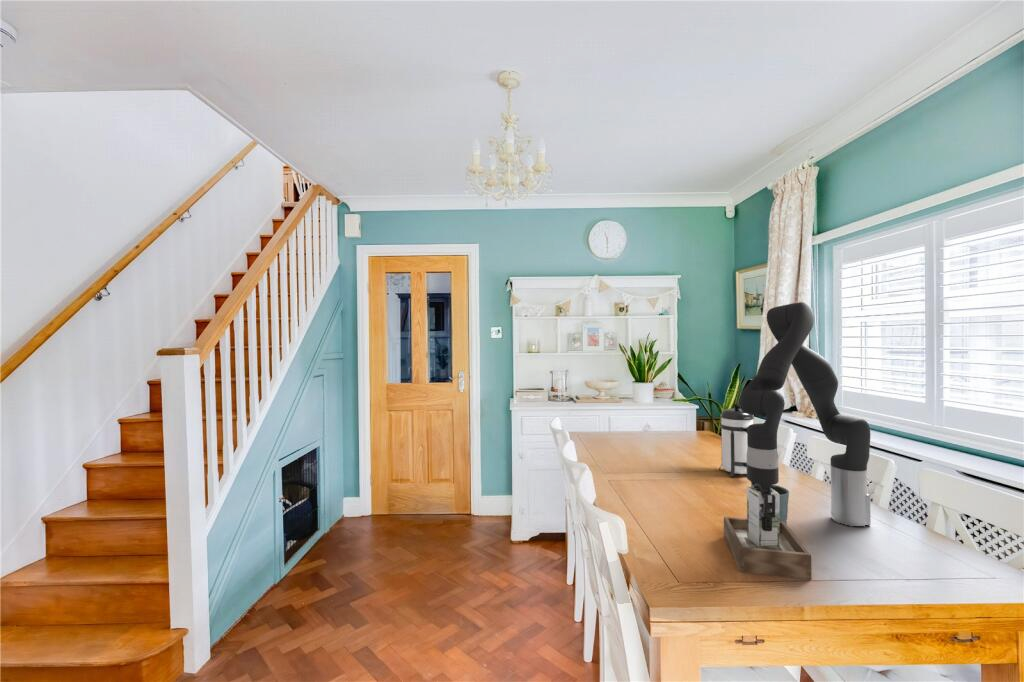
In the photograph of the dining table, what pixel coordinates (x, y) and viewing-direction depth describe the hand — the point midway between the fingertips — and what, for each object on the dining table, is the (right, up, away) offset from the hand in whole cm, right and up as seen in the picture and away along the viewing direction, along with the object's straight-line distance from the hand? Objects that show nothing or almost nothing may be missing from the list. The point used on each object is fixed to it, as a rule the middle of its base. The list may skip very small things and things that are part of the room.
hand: (763, 524), depth 121 cm
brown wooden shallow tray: (0, -9, 0) cm, 9 cm away
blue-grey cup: (+12, -8, +18) cm, 23 cm away
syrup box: (0, -5, 0) cm, 5 cm away
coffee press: (+29, -7, +69) cm, 75 cm away
